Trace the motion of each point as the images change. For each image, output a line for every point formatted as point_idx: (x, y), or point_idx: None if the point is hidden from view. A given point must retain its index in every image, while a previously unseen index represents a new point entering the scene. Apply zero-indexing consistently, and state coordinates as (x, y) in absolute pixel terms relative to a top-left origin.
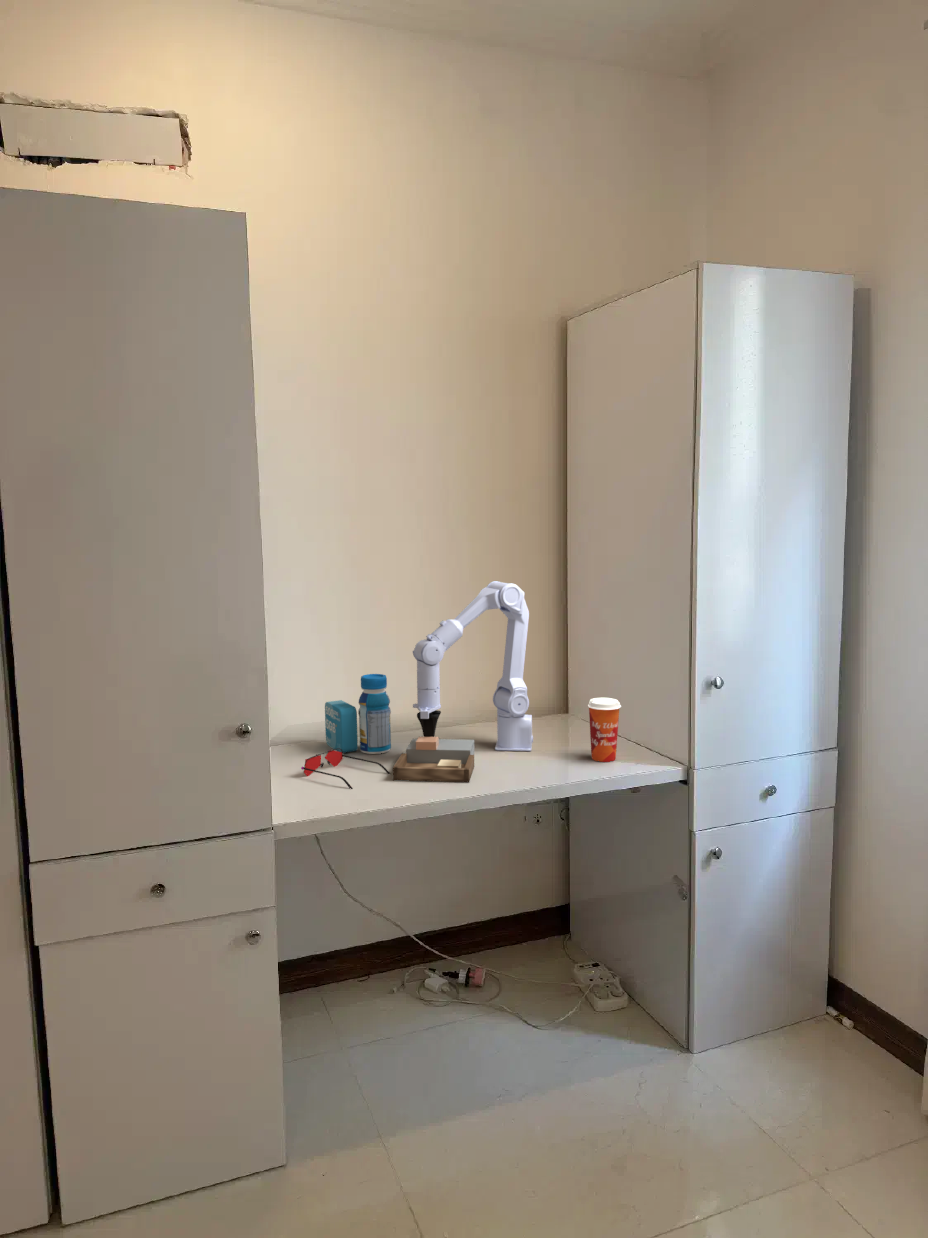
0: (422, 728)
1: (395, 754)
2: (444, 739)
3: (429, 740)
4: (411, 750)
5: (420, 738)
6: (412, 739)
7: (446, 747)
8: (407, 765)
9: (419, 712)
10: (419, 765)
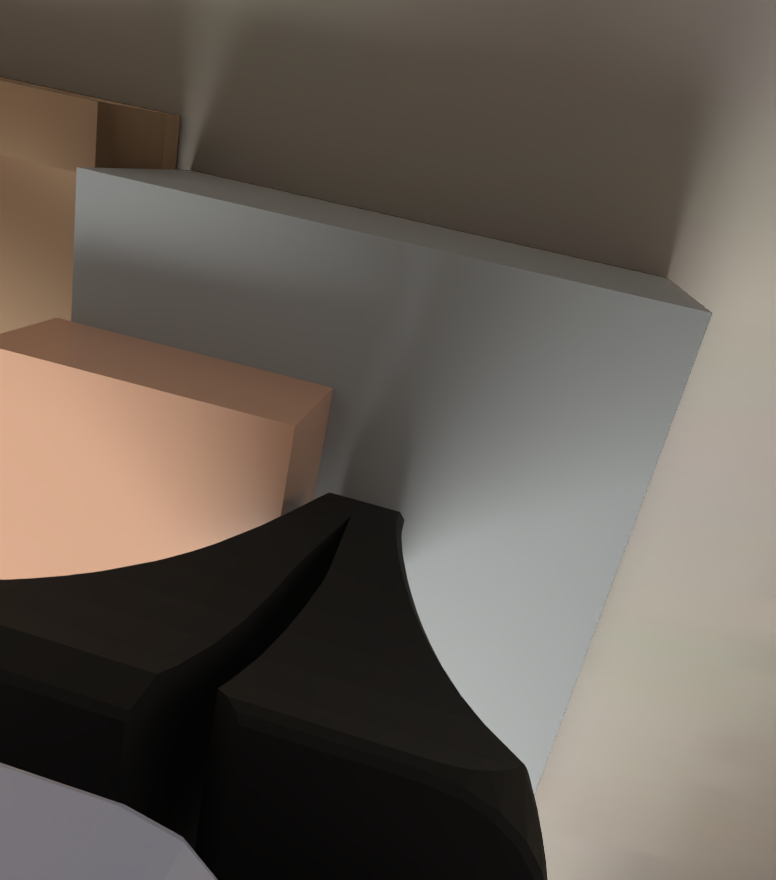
0: (197, 552)
1: (697, 10)
2: (533, 744)
3: (52, 552)
4: (86, 249)
5: (166, 435)
6: (645, 302)
7: None
8: (58, 179)
9: (336, 776)
10: (64, 318)
